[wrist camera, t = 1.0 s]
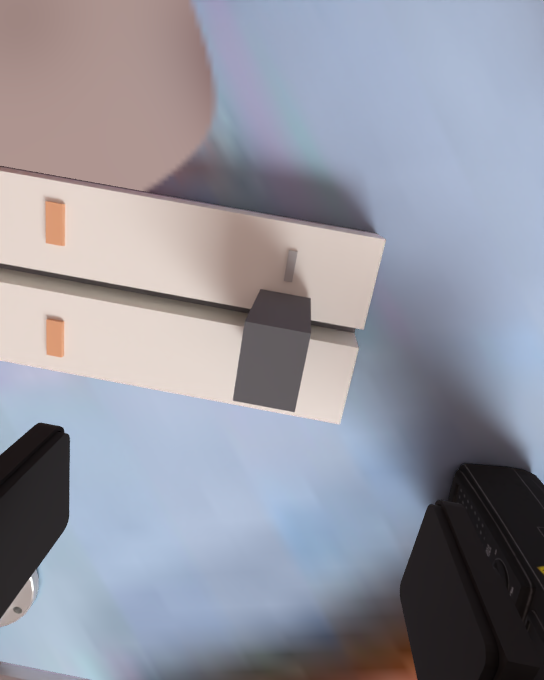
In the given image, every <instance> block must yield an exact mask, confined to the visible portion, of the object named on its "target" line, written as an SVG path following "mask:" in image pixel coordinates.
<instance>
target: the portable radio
mask: <svg viewBox="0 0 544 680" xmlns="http://www.w3.org/2000/svg"><path fill="white" fill-rule="evenodd" d="M448 502H454V503H459V504H462V505H463V506H464V507H465V509H466V511H467V513H468V516H469V518H470V520H471V522H472V524H473V526H474V528H475V530H476V533H477V535H478V537H479V539H480V541H481V543H482V545H483V547H484V549H485V552H486V554H487V556H488V558H489V560H490V562H491V564H492V566H493V567H494V568H495V569H497V571H498V572H499V574H500V575H501V577H502V579H503V582H504V584H505V586H506V588H507V590H508V592H509V594H510V596H511V598H512V600H513V602H514V604H515V606H516V608H517V611H518V613H519V615H520V617H521V619H522V621H523V623H524V625H525V627H526V629H527V631H528V633H529V635H530V638H531V640H532V642H533V644H534V646H535V648H536V650H537V652H538V654H539V656H540V658H541V660H542V662H543V665H544V485H543V483H542V482H541V481H540V480H539V479H538V478H537V476H536V475H534V474H532V473H530V472H527V471H525V470H522V469H517V468H511V467H501V466H489V465H477V464H462V465H461V466H460V467H459V470H457V471H456V472H455V474H454V478H453V482H452V487H451V491H450V495H449V499H448Z"/></svg>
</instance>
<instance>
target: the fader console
mask: <svg viewBox="0 0 544 680" xmlns="http://www.w3.org/2000/svg"><path fill="white" fill-rule="evenodd" d="M385 241H386V239H384V238H383V237H381V236H380V235H378V234H377V233H374V232H368V231H363V230H357V229H351V228H346V227H340V226H335V225H329V224H323V223H318V222H312V221H307V220H301V219H295V218H290V217H284V216H279V215H273V214H267V213H262V212H256V211H251V210H245V209H239V208H234V207H228V206H223V205H217V204H211V203H206V202H200V201H195V200H189V199H183V198H178V197H172V196H166V195H161V194H155V193H150V192H144V191H138V190H133V189H127V188H122V187H116V186H110V185H105V184H99V183H93V182H88V181H82V180H76V179H71V178H66V177H60V176H54V175H49V174H43V173H38V172H32V171H26V170H21V169H15V168H9V167H4V166H0V361H6V362H11V363H16V364H21V365H27V366H32V367H37V368H43V369H48V370H53V371H59V372H64V373H69V374H75V375H80V376H85V377H91V378H96V379H101V380H106V381H112V382H117V383H122V384H128V385H133V386H138V387H144V388H149V389H154V390H160V391H165V392H170V393H175V394H181V395H186V396H191V397H197V398H202V399H207V400H213V401H218V402H223V403H229V404H234V405H239V406H245V407H250V408H255V409H260V410H266V411H271V412H276V413H282V414H287V415H292V416H298V417H303V418H308V419H314V420H319V421H324V422H329V423H335V424H340V422H341V418H342V414H343V410H344V406H345V402H346V398H347V394H348V390H349V386H350V382H351V378H352V374H353V370H354V366H355V362H356V358H357V354H358V350H359V347H358V343H357V340H356V337H355V334H354V332H355V328H357V329H362V330H364V326H365V322H366V318H367V314H368V310H369V306H370V302H371V298H372V294H373V290H374V286H375V282H376V278H377V274H378V270H379V266H380V262H381V258H382V254H383V250H384V246H385ZM260 289H263V290H269V291H274V292H280V293H285V294H291V295H296V296H302V297H307V298H311V336H310V341H309V346H308V351H307V356H306V360H305V365H304V370H303V375H302V380H301V385H300V389H299V394H298V399H297V404H296V409H295V412H290V411H285V410H279V409H274V408H269V407H263V406H258V405H253V404H248V403H242V402H237V401H233V395H234V388H235V382H236V375H237V369H238V362H239V355H240V349H241V342H242V336H243V329H244V323H245V320H246V318H247V316H248V314H249V312H250V310H251V307H252V305H253V303H254V301H255V299H256V297H257V295H258V293H259V291H260Z"/></svg>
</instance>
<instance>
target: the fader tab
mask: <svg viewBox="0 0 544 680" xmlns="http://www.w3.org/2000/svg"><path fill="white" fill-rule="evenodd" d="M310 336H311V298H307V297H302V296H296V295H291V294H285V293H280V292H274V291H269V290H263V289H260V291H259V293H258V295H257V297H256V299H255V301H254V303H253V305H252V307H251V310H250V312H249V314H248V316H247V318H246V320H245V323H244V329H243V336H242V342H241V349H240V355H239V362H238V369H237V375H236V382H235V388H234V395H233V401H237V402H242V403H248V404H253V405H258V406H263V407H269V408H274V409H279V410H285V411H290V412H295V409H296V404H297V399H298V394H299V389H300V385H301V380H302V375H303V370H304V365H305V360H306V356H307V351H308V346H309V341H310Z"/></svg>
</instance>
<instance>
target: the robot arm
mask: <svg viewBox="0 0 544 680" xmlns="http://www.w3.org/2000/svg"><path fill="white" fill-rule="evenodd" d="M69 463H70V437H69V435H68V434H66V433H64V429H63V428H62V427H61V426H55V425H50V424H45V423H38V424H36V425H35V426H34V427H32V428H31V429H30V430H29V431H28V432H27V433H25V434H24V435H23V436H22V437H21V438H20V439H18V440H17V441H16V442H15V443H14V444H13V445H12V446H10V447H9V448H8V449H7V450H6V451H5V452H3V453H2V454H1V455H0V627H2V626H6V625H9V624H11V623H14V622H16V621H17V620H19V619H20V618H21V617H23V616H24V615H25V614H26V612H27V611H28V610H29V608H30V607H31V605H32V604H33V602H34V600H35V599H36V597H37V593H38V589H39V578H38V574H37V570H36V569H37V567H38V566H39V565H40V563H41V562H42V560H43V559H44V558H45V556H46V555H47V554H48V552H49V551H50V549H51V548H52V547H53V545H54V544H55V542H56V541H57V540H58V538H59V537H60V535H61V534H62V533H63V531H64V530H65V528H66V526H67V523H68V519H69ZM400 599H401V604H402V608H403V613H404V618H405V622H406V627H407V632H408V637H409V641H410V646H411V651H412V655H413V660H414V665H415V670H416V674H417V679H418V680H544V665H543V662H542V660H541V658H540V656H539V654H538V652H537V650H536V648H535V646H534V644H533V642H532V640H531V638H530V635H529V633H528V631H527V629H526V627H525V625H524V623H523V621H522V619H521V617H520V615H519V613H518V611H517V608H516V606H515V604H514V602H513V600H512V598H511V596H510V594H509V592H508V590H507V588H506V586H505V584H504V582H503V579H502V577H501V575H500V574H499V572H498V571H497V569H495V568H494V567H493V566H492V564H491V562H490V560H489V558H488V556H487V554H486V552H485V549H484V547H483V545H482V543H481V541H480V539H479V537H478V535H477V533H476V530H475V528H474V526H473V524H472V522H471V520H470V518H469V516H468V513H467V511H466V509H465V507H464V506H463V505H462V504H459V503H454V502H448V501H443V500H438V501H437V502H436V503H435V505H433V504H430V505H429V506H428V508H427V510H426V513H425V516H424V519H423V521H422V524H421V527H420V530H419V533H418V536H417V538H416V541H415V544H414V547H413V550H412V552H411V555H410V558H409V561H408V564H407V567H406V569H405V572H404V575H403V578H402V581H401V585H400ZM0 680H90V679H85V678H80V677H75V676H70V675H65V674H60V673H55V672H50V671H45V670H40V669H35V668H30V667H25V666H20V665H16V664H11V663H6V662H0Z"/></svg>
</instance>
